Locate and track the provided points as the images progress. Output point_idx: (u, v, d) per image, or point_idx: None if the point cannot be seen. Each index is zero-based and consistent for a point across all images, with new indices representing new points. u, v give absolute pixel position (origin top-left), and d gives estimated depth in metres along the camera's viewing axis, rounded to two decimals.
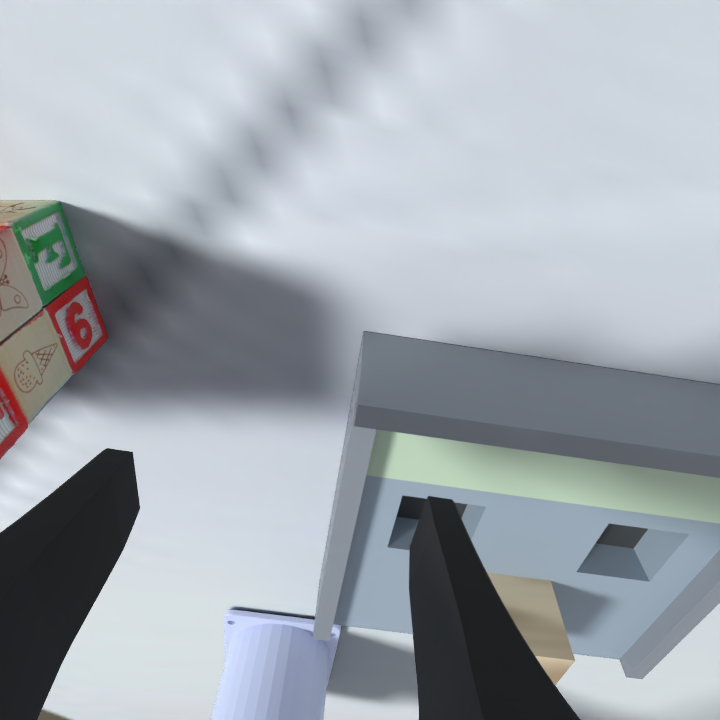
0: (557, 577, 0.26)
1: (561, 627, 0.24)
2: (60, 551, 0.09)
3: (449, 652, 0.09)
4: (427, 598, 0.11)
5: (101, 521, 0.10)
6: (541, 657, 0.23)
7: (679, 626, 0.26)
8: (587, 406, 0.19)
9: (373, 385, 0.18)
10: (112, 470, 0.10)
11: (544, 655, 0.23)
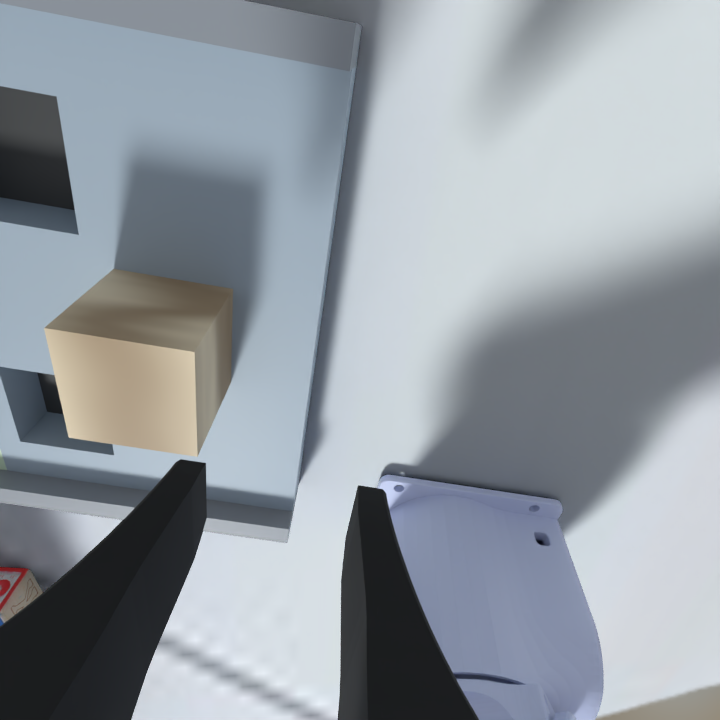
0: (101, 260, 0.16)
1: None
2: (153, 564, 0.09)
3: (358, 640, 0.09)
4: (350, 587, 0.10)
5: (182, 532, 0.10)
6: (56, 375, 0.14)
7: (104, 15, 0.12)
8: None
9: None
10: (191, 481, 0.11)
11: (55, 369, 0.14)
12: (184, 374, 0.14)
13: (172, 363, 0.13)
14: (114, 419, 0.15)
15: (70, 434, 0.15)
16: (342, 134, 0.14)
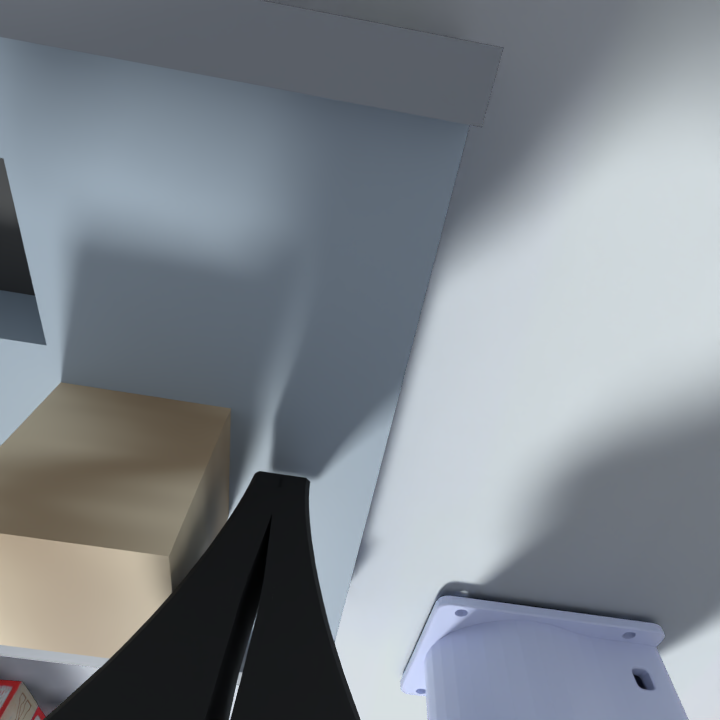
0: (80, 378, 0.11)
1: None
2: (251, 577, 0.09)
3: None
4: None
5: (267, 544, 0.10)
6: None
7: (69, 36, 0.07)
8: None
9: None
10: (275, 494, 0.11)
11: None
12: (155, 581, 0.09)
13: (135, 568, 0.09)
14: (53, 626, 0.10)
15: None
16: (445, 213, 0.09)
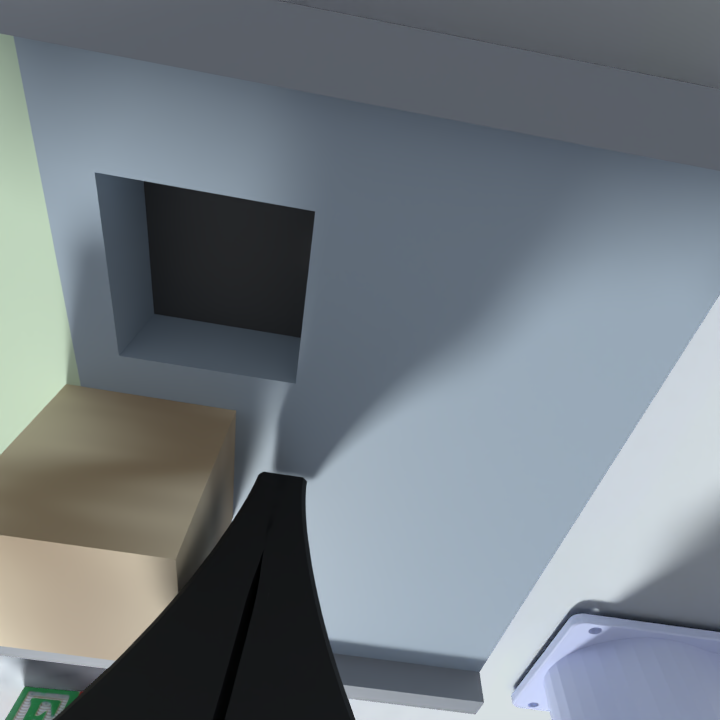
0: (318, 414, 0.12)
1: None
2: (256, 578, 0.09)
3: None
4: None
5: None
6: None
7: (463, 109, 0.07)
8: None
9: None
10: (280, 494, 0.11)
11: None
12: (161, 583, 0.09)
13: (141, 571, 0.09)
14: (58, 628, 0.10)
15: None
16: None
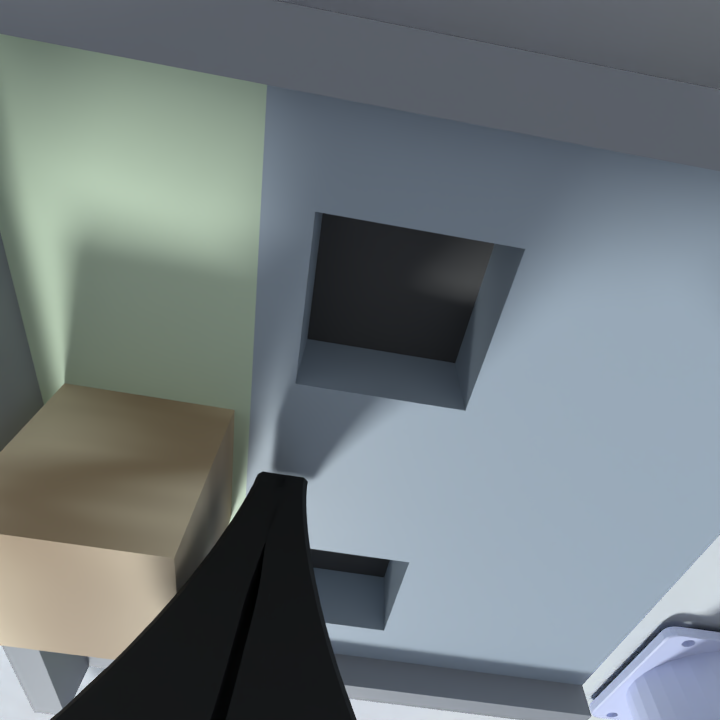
0: (481, 439, 0.12)
1: None
2: (255, 578, 0.09)
3: None
4: None
5: None
6: None
7: None
8: None
9: None
10: (279, 494, 0.11)
11: None
12: (159, 583, 0.09)
13: (140, 570, 0.09)
14: (57, 627, 0.10)
15: None
16: None
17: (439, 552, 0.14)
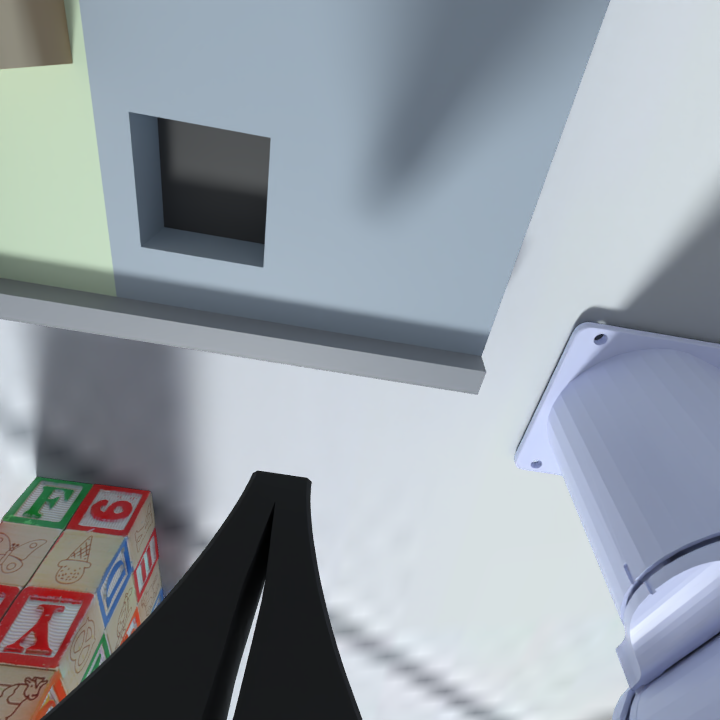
0: None
1: None
2: (249, 577, 0.09)
3: None
4: None
5: (266, 544, 0.10)
6: None
7: None
8: None
9: None
10: (274, 494, 0.11)
11: None
12: None
13: None
14: None
15: None
16: None
17: (299, 116, 0.14)
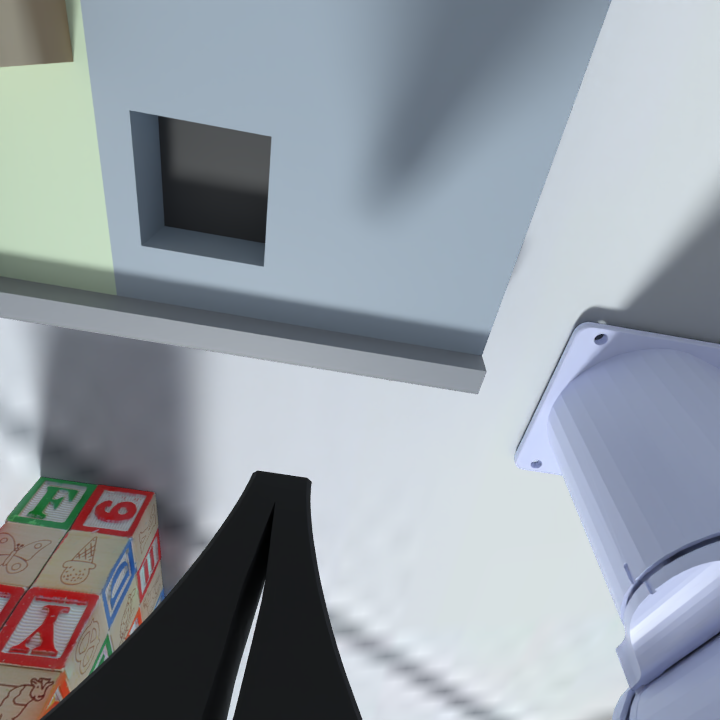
0: None
1: None
2: (249, 577, 0.09)
3: None
4: None
5: (266, 544, 0.10)
6: None
7: None
8: None
9: None
10: (274, 494, 0.11)
11: None
12: None
13: None
14: None
15: None
16: None
17: (300, 115, 0.14)
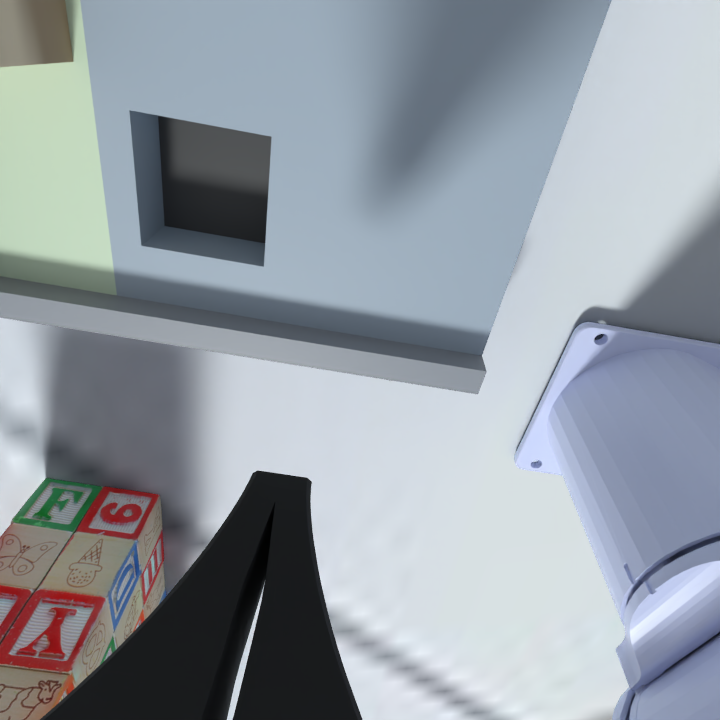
0: None
1: None
2: (249, 577, 0.09)
3: None
4: None
5: (266, 544, 0.10)
6: None
7: None
8: None
9: None
10: (274, 494, 0.11)
11: None
12: None
13: None
14: None
15: None
16: None
17: (300, 115, 0.14)
